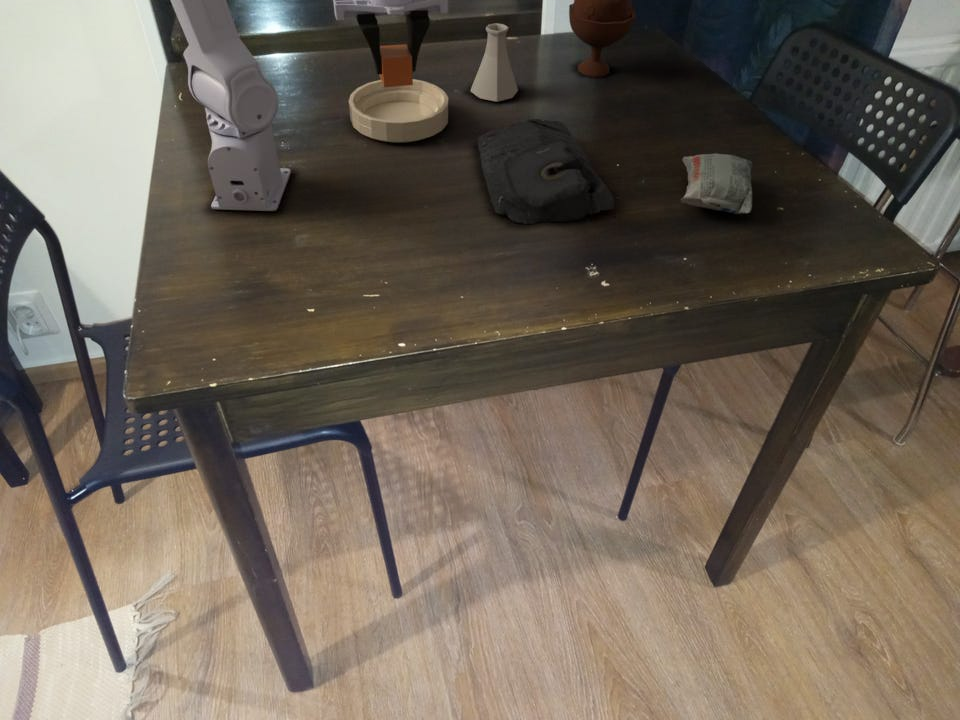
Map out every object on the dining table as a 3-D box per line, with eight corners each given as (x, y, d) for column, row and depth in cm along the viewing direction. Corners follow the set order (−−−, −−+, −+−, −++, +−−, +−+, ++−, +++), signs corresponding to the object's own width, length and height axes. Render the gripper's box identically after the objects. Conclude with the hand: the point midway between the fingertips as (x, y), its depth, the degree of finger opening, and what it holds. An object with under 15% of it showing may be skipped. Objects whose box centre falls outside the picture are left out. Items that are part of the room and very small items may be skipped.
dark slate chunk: (575, 134, 102) (579, 102, 99) (618, 219, 87) (625, 185, 83) (472, 138, 100) (472, 107, 97) (498, 227, 85) (500, 193, 81)
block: (412, 85, 96) (411, 55, 93) (384, 87, 95) (382, 58, 92) (407, 73, 98) (406, 44, 95) (379, 75, 97) (377, 46, 95)
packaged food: (676, 216, 87) (686, 182, 84) (679, 169, 96) (689, 136, 92) (746, 228, 86) (760, 194, 83) (744, 180, 94) (756, 147, 91)
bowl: (446, 147, 98) (446, 124, 95) (345, 144, 98) (342, 120, 95) (449, 102, 108) (450, 79, 105) (358, 99, 108) (356, 76, 105)
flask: (490, 78, 114) (493, 14, 107) (525, 92, 111) (531, 27, 104) (462, 92, 110) (463, 27, 103) (497, 107, 107) (501, 40, 100)
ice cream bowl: (623, 58, 122) (640, -36, 111) (626, 86, 114) (644, -13, 103) (562, 54, 122) (573, -41, 112) (561, 81, 114) (573, -18, 104)
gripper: (333, -27, 82) (345, 87, 91) (453, -33, 85) (453, 77, 94) (326, -45, 86) (339, 65, 96) (440, -50, 89) (441, 57, 99)
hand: (395, 70), depth 96 cm, fingers closed on block, 4 cm apart
